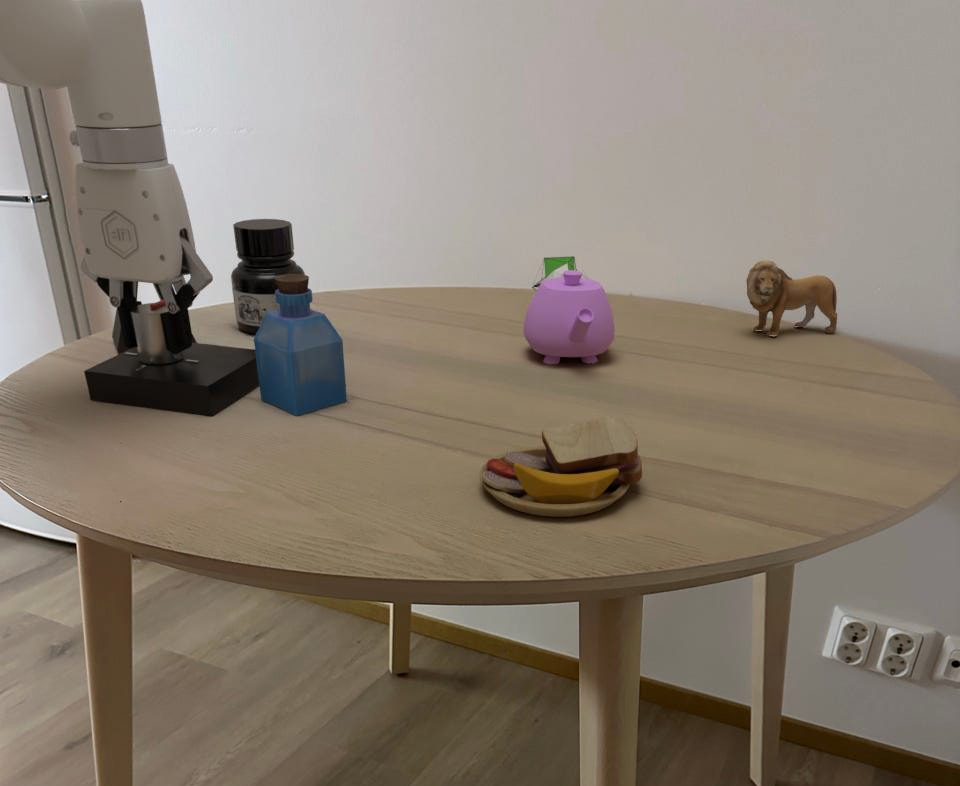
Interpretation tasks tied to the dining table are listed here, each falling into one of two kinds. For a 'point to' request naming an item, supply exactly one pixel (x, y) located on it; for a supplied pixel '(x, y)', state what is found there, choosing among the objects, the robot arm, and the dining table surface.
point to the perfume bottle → (299, 352)
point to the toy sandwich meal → (567, 469)
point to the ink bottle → (260, 268)
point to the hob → (177, 379)
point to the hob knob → (152, 334)
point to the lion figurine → (789, 295)
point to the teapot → (569, 319)
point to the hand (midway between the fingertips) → (159, 345)
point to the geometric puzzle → (556, 267)
